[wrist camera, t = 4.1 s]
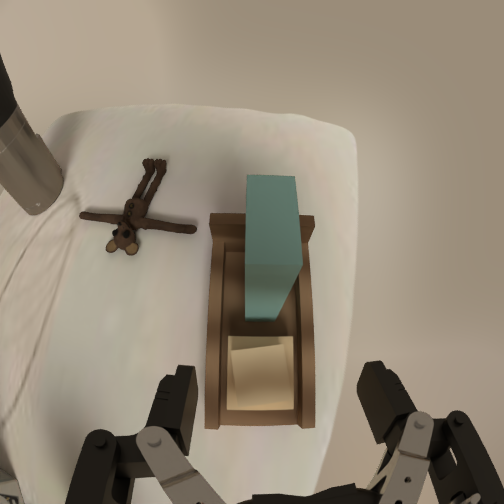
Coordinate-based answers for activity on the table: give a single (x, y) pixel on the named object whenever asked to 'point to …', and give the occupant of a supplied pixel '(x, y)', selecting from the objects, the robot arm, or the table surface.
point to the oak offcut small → (260, 375)
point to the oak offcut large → (256, 342)
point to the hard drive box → (9, 490)
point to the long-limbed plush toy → (138, 213)
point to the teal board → (270, 245)
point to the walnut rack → (255, 327)
